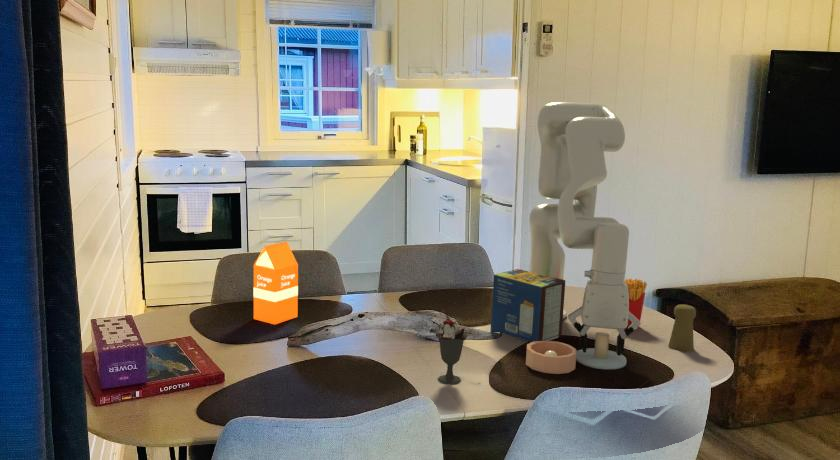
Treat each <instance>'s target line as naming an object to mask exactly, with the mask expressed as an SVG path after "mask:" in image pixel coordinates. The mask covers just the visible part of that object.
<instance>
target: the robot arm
mask: <svg viewBox="0 0 840 460" xmlns="http://www.w3.org/2000/svg"><path fill="white" fill-rule="evenodd" d="M537 116H538V117H537V131H538V137H539V141H540V142H539V143H540V156H539V157H540V159H539V170H538V181H537V182H538V183H537V187H538V193H539V195H540V196H541V197H542V198H544V199H549V200H558V203H541V204H538V205H535V206H534V207H533V208H532V209H531V211H530V212H529V227H530V229H529V230H530V231H529V232H530V258H529V260H530V261H529V271H528V272H533V273H537V274H541V275H545V276H549V277H554V278H558V279H563V280H564V279H565V278H564V275H565V266H566V265H565V263H566V254H565V250H564V249H563V246H562V245H561V244H560V242H559V241H558V240H561V241H562V244H563V245H564V246H565V247H566V248H569V249H571V250H574V249H575V250H585V249H586V250H592V257H591V267H590V269H589V270H584V275H583V277H584V278H586V277H587V278H589V280H587V282H586V285H585V288H584V289H585V290H584V293H583V300H582V305H581V306H580V307H579V308H577V309H575V310H574V311H572V312H571V313H570V314H568V315H567V311H566V310H565V309H564V308H563V319H565V318H566V317H567V319H568V320H569V322H570V323H571V324H572V326H573V327H574V328H575V330H576V331H577V332H578V333H579V334H580V335H579V348H581V349H582V350H583V352H584V353H585V352H586V348H587V345H588V333H587V332H588V331H589V330H590V328H597V329H599V328H600V329H608V330H609V329H610V330H617V331H618V335H616V345H615V346H616V348H615V352H616V353H617V355H618V356H621V355H622V352H624V350H625V340H627V338H628V336H630V335H631V334H633V333H634V331H635V330H636V329H638V328H637V327H639V328H640V326H641V320H640V321H639V320H638V319H637V318H636V317H635V316H634V315H633V314H631V313H630V312H629V292H628V286H627V284H625V283H624V282H625V281H626V271H627V270H626V269H627V260H628V259H627V258H628V248H629V239H630V238H629V236H630V230H629V228H628V227H627V226H626V225H625V224H622V223H619V221H618V220H617V219H616V218H613V217H609V216H608V217H603V216H600V217H599V216H595V212H596V201H597V194H598V185H599V184H601V183H603V182H604V181H605V180H606V179H607V176H608V171H607V165H606V158H605V153H606V152H607V153H609V152H610V153H613V152H618V151H620V150H621V149H622V148H623V146H624V144H625V140H626V139H625V138H626V132H625V128H624V125H623V123H622V120H620V118H619V117H618V116H617V115H615V113H613V112H612V111H611V110H610V108H608V107H607V106H605V105H603V104H600V103H590V102H575V101H573V102H571V101H569V102H568V101H555V102H549V103H546V104H544V105H543V106H542V107H541V109H540V110H539V112H538V115H537ZM579 317H581V322H582V324H580V322H579V321H578V320H577V318H579ZM628 319H629V320H630V321H631V322H632V324H631V325H630V326H628V327H627V324H628ZM626 327H627V328H626ZM624 328H626V329H624Z"/></svg>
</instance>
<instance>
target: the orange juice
mask: <svg viewBox="0 0 840 460" xmlns="http://www.w3.org/2000/svg"><path fill="white" fill-rule="evenodd" d="M252 291H253V320H255V321H256V320H257V321H260V322H263V323H268V324H271V325H275V326H276V325H278V324H281V323H283V322H286V321H290V320H292V319H295V318H298V310H299V309H298V308H299V307H298V305H299V304H298V303H299V301H298V299H299V298H298V297H299V264H298V262H297V260H296V258H295V255H294V254H293V252H292V249H291V247H290V245H289V242H288V241H284V242H279V243H275V244H269V245H266V246H264V247H263V248H262V250H261V252H260V253H259V255H258V257H257V259H256V260H255V261H254V264H253V290H252Z"/></svg>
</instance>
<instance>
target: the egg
mask: <svg viewBox="0 0 840 460" xmlns="http://www.w3.org/2000/svg"><path fill="white" fill-rule="evenodd" d="M544 355H551V356H558V355H557V353H556V352H554V351H551V350H550V351H547V352H546V353H545V354H544Z"/></svg>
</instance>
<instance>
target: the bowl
mask: <svg viewBox="0 0 840 460" xmlns="http://www.w3.org/2000/svg"><path fill="white" fill-rule="evenodd" d="M550 350H551V351H554V352H556V353H557V355H558V356H551V355H544V354H545V353H546V352H547V351H550ZM576 351H577V348H575V347H574V346H572V345H570V344H567V343H564V342H560V341H555V340H549V341H545V340H544V341H533V342H529V343H527V344H526V355H525V356H526V357H525V365H526V366H527V367H528V368H530V369H531V370H534V371H537V372H540V373H544V374H552V375H553V374H554V375H555V374H556V375H561V374H569V373H571V372H572V371H574V370H576V364H577V361H576Z"/></svg>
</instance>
